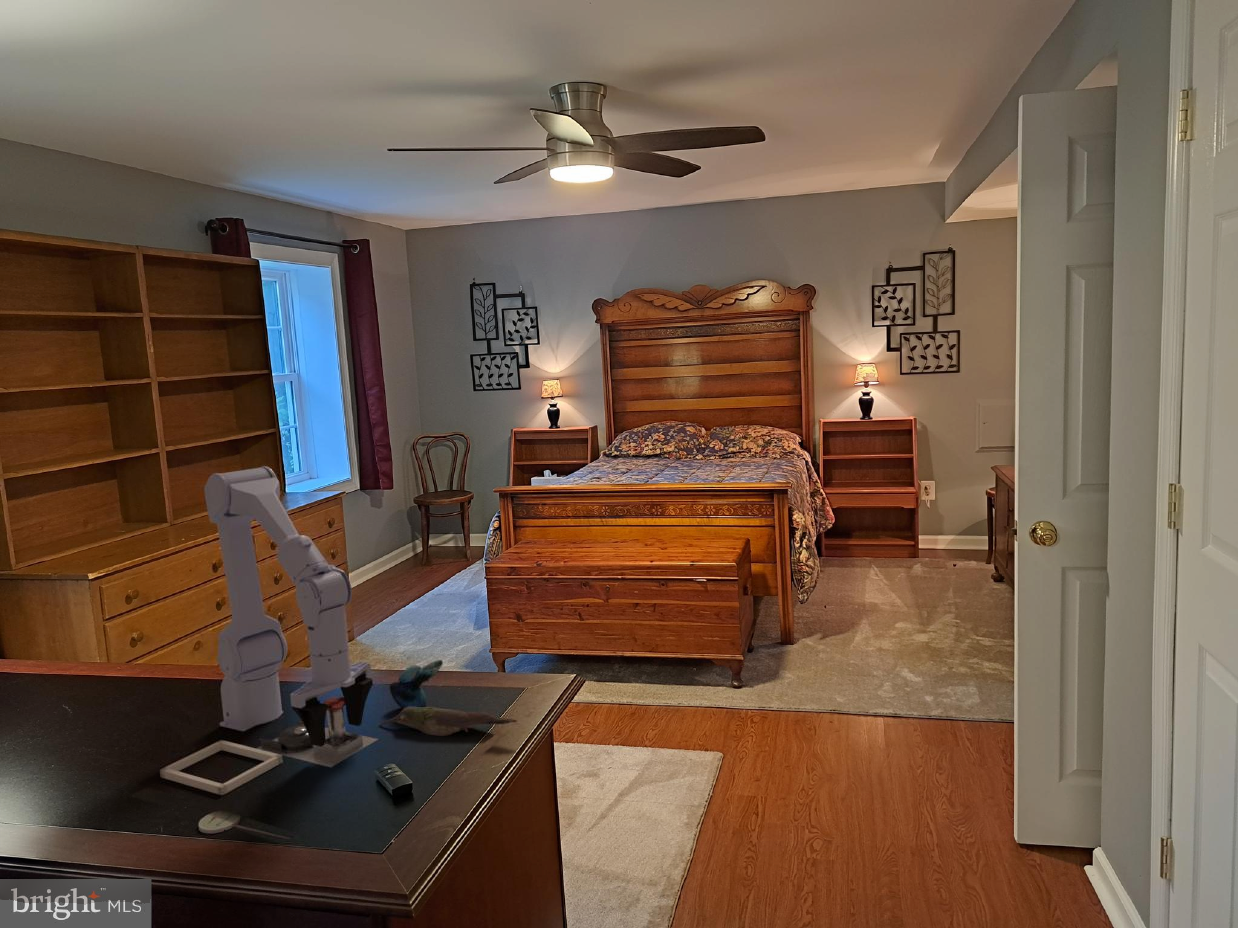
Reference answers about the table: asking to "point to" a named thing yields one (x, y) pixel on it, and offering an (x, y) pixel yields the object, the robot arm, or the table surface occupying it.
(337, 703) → the pin
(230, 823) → the sign
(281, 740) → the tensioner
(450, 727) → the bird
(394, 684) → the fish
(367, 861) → the table surface
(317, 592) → the robot arm
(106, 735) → the table surface
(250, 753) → the tray
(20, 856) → the table surface
